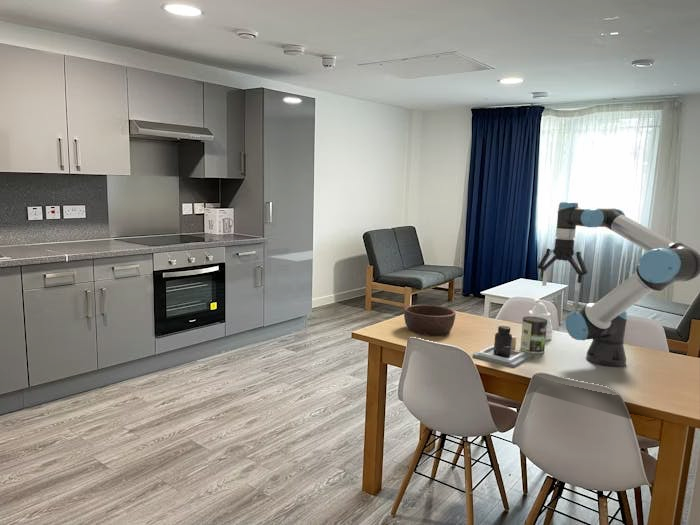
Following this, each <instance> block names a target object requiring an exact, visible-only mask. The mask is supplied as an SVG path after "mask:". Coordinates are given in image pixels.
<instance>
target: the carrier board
mask: <svg viewBox="0 0 700 525" xmlns="http://www.w3.org/2000/svg"><path fill="white" fill-rule="evenodd" d="M516 345H517V336H515V335H512V344H511V353H510V356H509V357H500V356H496V355H494V344H492V345H490V346H488V347H486V348H483V349H481V350H479V351H477V352H474V353H472V358H474V359H479V360H484V361H486V360H487V362H492V363H495V364H498V365H503V366H506V367H510V368H516V367H518V366H519V365H520V366H521V364H523V363H524V361H525V362H527V361H529V360H530V359H532V358H533V357H534V355H535V354H534V353H528V352H524V351H522V350H519V349H516ZM526 360H527V361H526Z"/></svg>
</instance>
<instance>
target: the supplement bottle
mask: <svg viewBox="0 0 700 525" xmlns="http://www.w3.org/2000/svg"><path fill="white" fill-rule="evenodd" d="M494 334H495V335H494V341H493V342H494V344H493V345H494V355H496V356H500V357H509V356H510V353H511V344H512V336H513V335H512V334H511V327H510V326H506V325H499V326H498V329H497V332H496V333H494Z"/></svg>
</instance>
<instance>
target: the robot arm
mask: <svg viewBox="0 0 700 525" xmlns="http://www.w3.org/2000/svg"><path fill="white" fill-rule="evenodd" d="M556 218H557V221H556V227H555V229H556V231H555V237H556V238H555V239H554V240H555V241H554V248H553V249H552V247H551V248H550V247H549V248H546V251H545V254H544V256H543V257H542V258H541V261H540V262H539V263H538V265H537V267H536V268H537V269H539V270H540V272H541V273H540V277H541V279H542V284H541V285H542V286H543V287H545V286H547V282H548V268H549V267H550V266H552V264H553V263H555V262H556V261H564V262H566V261H567V262H569V263H570V265H571V266H572V268H573V269H574V271H575V272H576V275H575V283H574V291H575V292H576V291H579V289H580V288H579V287H580V283H582V282H583V276H585V275H587V274H588V270H587V267H586V265H585V262H584V260H583V258H582V251H580V250H579V251H575V250H574V247H575V240H574V239H575V237H576V231H577V230H576V227H585V228H598V227H599V228H606V229H609V230H611V231H612V232H614V233H615V234H617V235H619V237H622V238H624V239H626V240H627V241H629V242H630V243H632V244H634V245H636V246H638V247H639V248H641V250H642V249H643V250H645V251H646V252H644V253H643V254H642V255H641V257H640V258H639V260H638V264H637V265H636V266H635V272H634V273H633V274H632V275H631V276H629V277H628V278H627V279H625V280H623V282H621V283H620V284H619V285H617V286H616V287H615V288H613V289H612V290H611V291H610V292H608V293H607V294H606V295H605V296H603V297H602V298H600V299H599V300H598V301H596V302H590V303H588V304H587V305H585V306H584V307H582V308H581V309H580V310H574V311H573V310H572V311H570V312H569V313H568V314H567V315H566V318H565V329H566V332H567V333H568V335H569V336H570V337H571V338H572V339H574V340H577V341H587V340H591V344H590V345H589V347H588V350H587V351H586V356H585V357H586V360H588V361H590V362H592V363H594V364H598V365H603V366H607V367H625V366H626V365H627V354H626V352H625V351H626V350H625V346H624V343H625V342H624V341H625V335H626V326H627V321H628V318H627V317H628V316H627V315H628V313H627V312H626V311H627V310H628V309H630V308H631V307H633V306H634V305H635V304H636V303H638V302H639V301H642V300H643V299H644V298H645V297H646V296H648V295H649V294H651V293H652V292H653V291H654V292H661V291H663V290H664V289H666V288H668V287H669V286H670V285H672V284H673V283H675V282H677V283H678V282H689V281H692V280H694V279H696V278H697V277H698V276H699V275H700V253H699V252H698V251H697V250H695V249H694V248H692V247H689V246H688V245H686V244H684V243H682V242H679V241H677V242H674V241H672V240H670V239H669V238H667V237H665V236H663V235H661V234H659V233H657V232H656V231H654V230H651V229H650V228H648V227H646V226H644V225H643V224H642V223H639V222H638V221H635V220H633V219H631V218H629V217H627V216H626V214H625V213H624V211H623V210H621V209H619V208H598V207H597V208H595V207H579V204H578V202H573V201H572V202H571V201H561V202H560V203H559V204H558V210H557V217H556ZM552 254H554V256H552V258H551V259H550V260H549V261H548V258H549V257H550V255H552ZM573 256H575V257H576V260H577V261H578V264H577V263H576V261H575V259H574V258H573ZM546 262H547V263H546ZM578 265H579V266H578Z"/></svg>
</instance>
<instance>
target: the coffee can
mask: <svg viewBox="0 0 700 525" xmlns="http://www.w3.org/2000/svg"><path fill="white" fill-rule="evenodd" d="M547 322H548V321H547V320H546V319H544V318H540V317H530V316H529V315H528V316H524V317H522V328H521V337H520V338H521V339H520V340H521V341H520V348H519V349H520V351H523V352H524V351H525V352H527V353H532V354H534V355H535V354H537V355H538V354H541V355H542V354H544V353H545V348H546V340H545V339H546V329H547Z"/></svg>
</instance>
